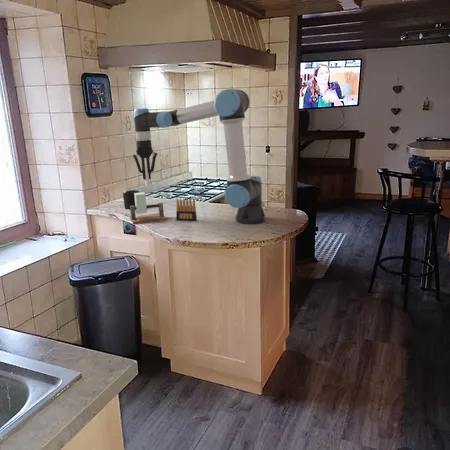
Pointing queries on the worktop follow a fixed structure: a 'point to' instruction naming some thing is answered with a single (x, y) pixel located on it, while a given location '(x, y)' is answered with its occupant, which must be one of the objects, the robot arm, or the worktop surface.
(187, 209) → the ammunition clip
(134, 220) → the cord rack
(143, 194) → the sleeve
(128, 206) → the pen holder
